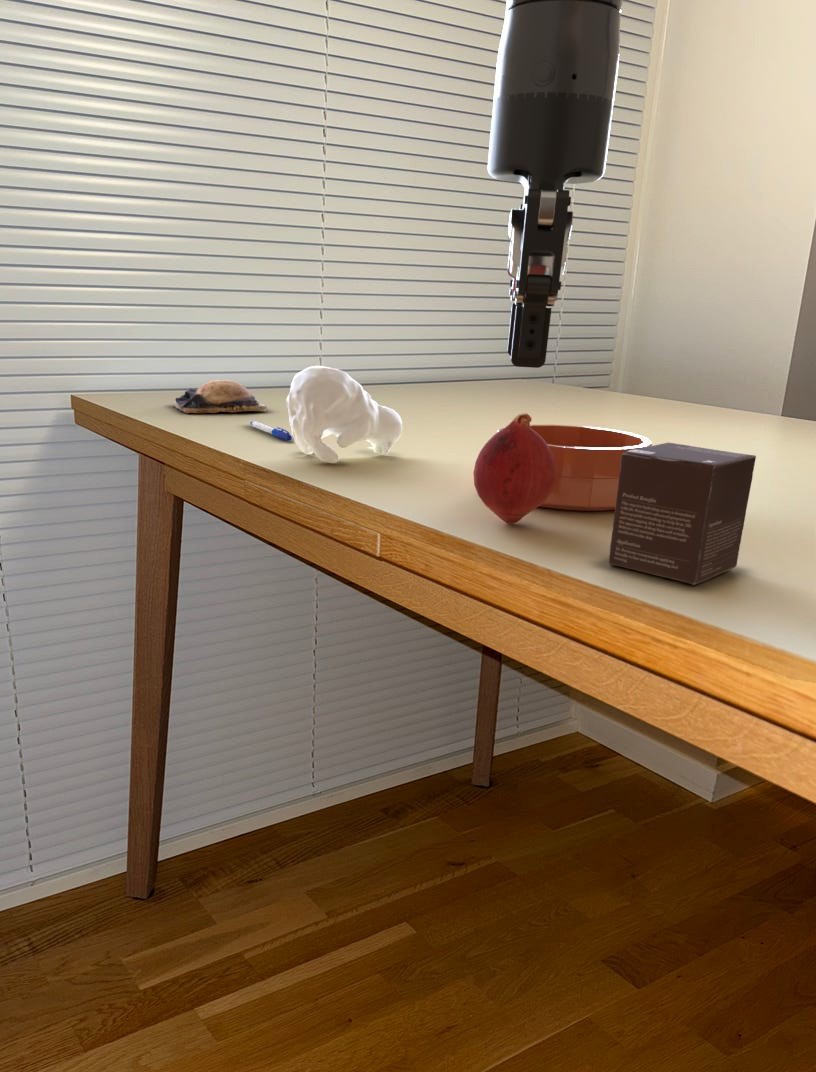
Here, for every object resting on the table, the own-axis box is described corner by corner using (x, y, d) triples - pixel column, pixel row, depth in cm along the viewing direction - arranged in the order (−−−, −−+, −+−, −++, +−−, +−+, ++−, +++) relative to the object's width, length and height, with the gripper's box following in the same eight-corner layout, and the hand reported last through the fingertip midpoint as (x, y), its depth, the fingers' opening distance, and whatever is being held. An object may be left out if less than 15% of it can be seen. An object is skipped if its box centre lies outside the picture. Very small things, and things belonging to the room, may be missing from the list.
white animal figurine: (283, 360, 91) (389, 371, 97) (274, 451, 94) (378, 456, 99) (314, 367, 86) (424, 378, 92) (304, 463, 88) (412, 467, 94)
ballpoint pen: (294, 441, 101) (294, 431, 101) (287, 441, 101) (287, 431, 101) (253, 426, 110) (253, 417, 110) (246, 426, 109) (246, 417, 109)
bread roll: (250, 404, 128) (250, 376, 127) (269, 413, 120) (269, 383, 119) (171, 405, 124) (170, 375, 123) (185, 414, 117) (184, 383, 116)
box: (738, 570, 61) (760, 455, 59) (694, 588, 58) (715, 466, 55) (651, 549, 66) (668, 441, 63) (604, 565, 62) (620, 450, 59)
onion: (507, 537, 67) (518, 421, 64) (453, 519, 72) (462, 409, 69) (565, 527, 70) (579, 416, 67) (511, 511, 75) (522, 406, 72)
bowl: (630, 486, 86) (638, 429, 84) (652, 518, 74) (663, 453, 72) (491, 477, 87) (497, 421, 85) (493, 507, 76) (499, 443, 74)
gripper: (630, 77, 54) (590, 374, 60) (600, 116, 67) (570, 357, 73) (495, 74, 55) (468, 367, 61) (492, 113, 68) (471, 351, 74)
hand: (524, 361), depth 67 cm, fingers open, 8 cm apart
